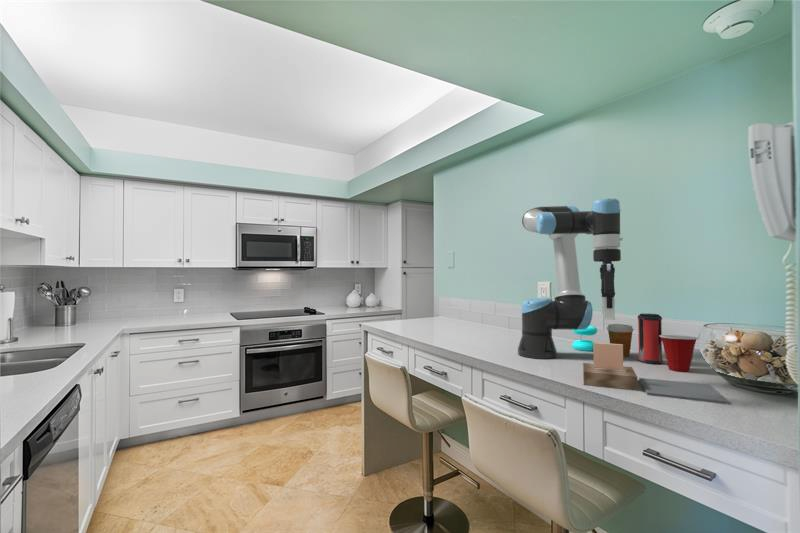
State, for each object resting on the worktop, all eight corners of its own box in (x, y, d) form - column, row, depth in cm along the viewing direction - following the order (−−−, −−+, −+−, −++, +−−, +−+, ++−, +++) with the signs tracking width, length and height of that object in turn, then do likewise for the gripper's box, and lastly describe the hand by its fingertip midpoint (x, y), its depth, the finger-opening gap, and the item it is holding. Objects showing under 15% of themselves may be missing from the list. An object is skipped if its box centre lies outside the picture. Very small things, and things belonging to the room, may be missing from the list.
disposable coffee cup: (626, 352, 159) (626, 324, 159) (638, 357, 150) (638, 327, 150) (603, 352, 160) (602, 323, 160) (613, 357, 150) (613, 327, 151)
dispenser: (583, 384, 116) (583, 370, 116) (583, 374, 126) (583, 361, 126) (637, 390, 110) (637, 375, 110) (632, 379, 120) (631, 366, 120)
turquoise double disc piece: (590, 324, 172) (601, 328, 162) (590, 346, 172) (602, 351, 162) (568, 324, 172) (578, 328, 162) (568, 346, 172) (578, 351, 162)
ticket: (594, 381, 119) (593, 343, 119) (594, 380, 120) (593, 342, 120) (623, 384, 116) (622, 345, 116) (623, 383, 117) (622, 344, 117)
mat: (647, 394, 106) (647, 392, 106) (639, 379, 120) (639, 377, 120) (729, 404, 98) (729, 401, 98) (709, 386, 113) (709, 384, 113)
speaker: (633, 359, 146) (632, 313, 146) (652, 359, 147) (651, 312, 147) (647, 364, 139) (647, 315, 139) (667, 364, 139) (667, 315, 139)
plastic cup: (689, 366, 135) (688, 333, 135) (704, 375, 125) (704, 338, 125) (654, 365, 138) (654, 332, 138) (666, 372, 128) (666, 337, 128)
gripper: (625, 245, 105) (626, 322, 105) (616, 250, 128) (618, 313, 128) (594, 246, 109) (595, 321, 108) (592, 251, 131) (593, 312, 131)
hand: (607, 317), depth 118 cm, fingers open, 13 cm apart
